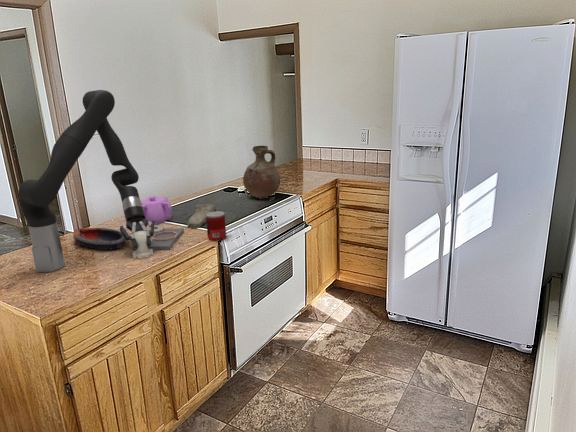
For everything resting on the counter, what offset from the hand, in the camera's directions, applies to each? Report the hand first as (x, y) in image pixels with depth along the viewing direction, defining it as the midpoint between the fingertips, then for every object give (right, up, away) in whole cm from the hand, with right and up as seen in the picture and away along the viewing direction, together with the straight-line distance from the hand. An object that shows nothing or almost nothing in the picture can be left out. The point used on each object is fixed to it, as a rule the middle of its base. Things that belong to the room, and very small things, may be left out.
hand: (142, 246), depth 170 cm
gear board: (+1, +1, +19) cm, 19 cm away
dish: (-24, 0, +18) cm, 30 cm away
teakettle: (-10, +10, +49) cm, 51 cm away
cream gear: (-1, -3, +3) cm, 4 cm away
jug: (+42, +23, +88) cm, 100 cm away
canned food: (+26, +2, +20) cm, 33 cm away
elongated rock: (+13, +11, +50) cm, 53 cm away
